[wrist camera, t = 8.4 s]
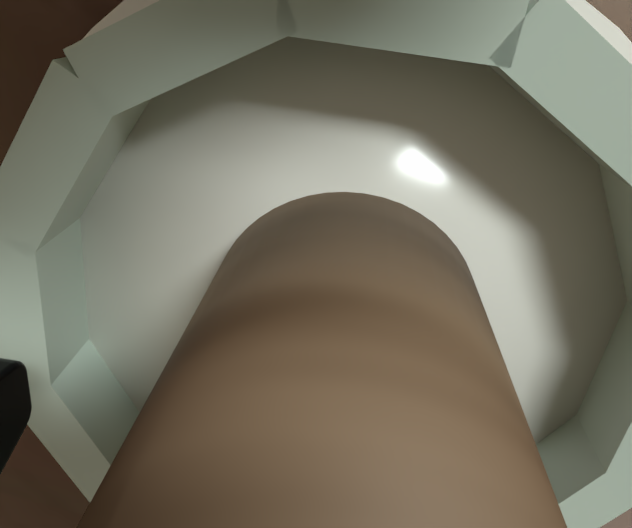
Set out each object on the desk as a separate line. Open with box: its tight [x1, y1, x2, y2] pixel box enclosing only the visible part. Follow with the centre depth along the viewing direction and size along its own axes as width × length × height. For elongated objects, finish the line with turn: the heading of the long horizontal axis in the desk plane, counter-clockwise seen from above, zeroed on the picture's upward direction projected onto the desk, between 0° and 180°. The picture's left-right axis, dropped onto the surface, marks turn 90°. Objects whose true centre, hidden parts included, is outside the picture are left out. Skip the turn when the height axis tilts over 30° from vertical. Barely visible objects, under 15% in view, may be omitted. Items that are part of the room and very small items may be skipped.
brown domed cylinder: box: [77, 192, 567, 528], centre depth 7 cm, size 5×5×7 cm
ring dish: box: [0, 0, 632, 528], centre depth 10 cm, size 13×13×2 cm
